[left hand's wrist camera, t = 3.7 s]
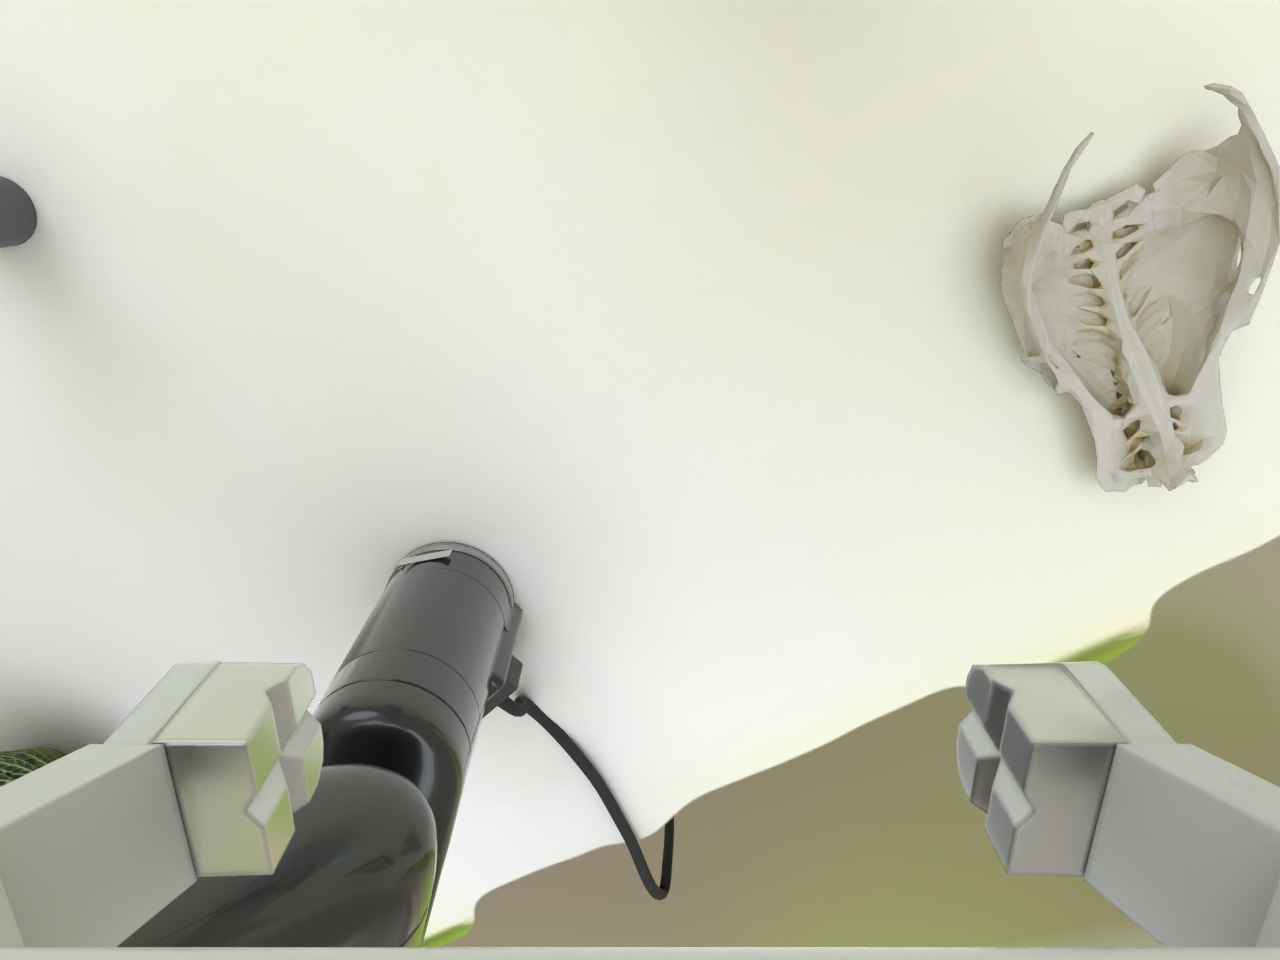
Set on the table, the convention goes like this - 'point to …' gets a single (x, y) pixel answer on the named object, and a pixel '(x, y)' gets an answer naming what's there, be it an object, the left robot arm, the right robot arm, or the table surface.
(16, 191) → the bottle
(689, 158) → the table surface
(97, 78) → the table surface
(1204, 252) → the anatomical model
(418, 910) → the right robot arm
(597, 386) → the table surface
